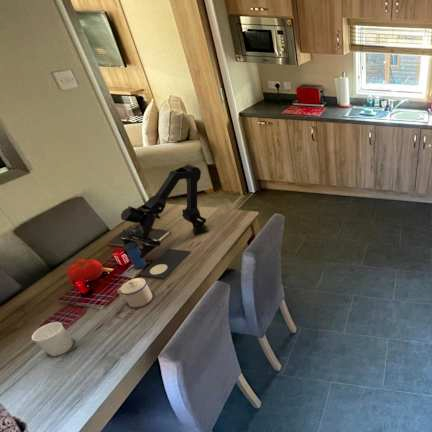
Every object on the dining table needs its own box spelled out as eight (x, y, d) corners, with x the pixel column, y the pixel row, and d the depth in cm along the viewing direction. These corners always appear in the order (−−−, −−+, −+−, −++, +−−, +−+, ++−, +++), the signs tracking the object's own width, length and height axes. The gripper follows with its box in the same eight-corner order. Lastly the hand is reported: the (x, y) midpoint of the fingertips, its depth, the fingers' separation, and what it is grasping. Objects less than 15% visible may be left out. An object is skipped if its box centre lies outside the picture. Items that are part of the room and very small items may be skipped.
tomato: (108, 277, 146) (100, 263, 141) (75, 290, 139) (65, 275, 134) (103, 266, 152) (95, 252, 147) (71, 278, 144) (61, 263, 139)
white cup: (58, 339, 119) (43, 322, 113) (80, 338, 120) (67, 321, 114) (41, 358, 112) (25, 341, 107) (64, 357, 113) (50, 340, 108)
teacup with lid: (157, 292, 140) (148, 273, 134) (145, 308, 133) (134, 289, 126) (130, 292, 140) (119, 273, 133) (116, 308, 132) (104, 288, 126)
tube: (134, 264, 154) (123, 244, 147) (146, 261, 157) (136, 240, 149) (134, 270, 151) (124, 250, 144) (147, 266, 153) (137, 246, 146)
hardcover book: (150, 250, 163) (148, 247, 162) (109, 245, 165) (107, 242, 163) (170, 232, 176) (169, 229, 175) (132, 228, 178) (131, 225, 177)
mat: (168, 249, 164) (168, 248, 164) (190, 252, 164) (189, 251, 163) (139, 276, 148) (139, 274, 147) (163, 279, 147) (163, 277, 147)
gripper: (114, 217, 146) (100, 250, 143) (146, 225, 142) (133, 258, 139) (135, 222, 157) (123, 252, 154) (166, 230, 153) (154, 261, 150)
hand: (133, 256), depth 149 cm, fingers open, 9 cm apart
